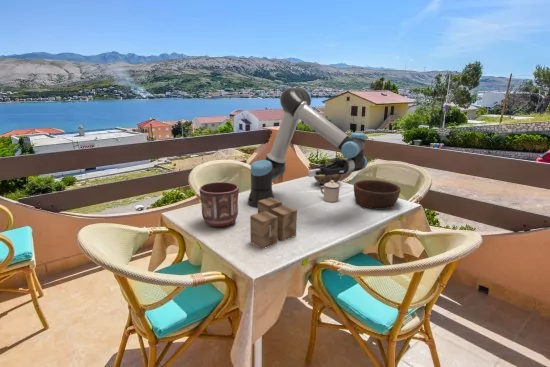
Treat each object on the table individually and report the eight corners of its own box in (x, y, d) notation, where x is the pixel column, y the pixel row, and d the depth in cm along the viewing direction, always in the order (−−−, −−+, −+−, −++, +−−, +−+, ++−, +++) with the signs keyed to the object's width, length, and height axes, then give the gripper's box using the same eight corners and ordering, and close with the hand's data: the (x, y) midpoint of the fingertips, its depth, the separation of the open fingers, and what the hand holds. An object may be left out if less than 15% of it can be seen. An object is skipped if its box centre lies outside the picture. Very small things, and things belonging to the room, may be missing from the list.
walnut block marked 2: (268, 230, 144) (268, 205, 141) (257, 224, 150) (257, 200, 147) (281, 225, 149) (282, 201, 146) (270, 220, 155) (270, 197, 152)
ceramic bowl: (318, 195, 200) (323, 174, 193) (302, 181, 212) (306, 161, 205) (346, 189, 213) (352, 169, 206) (329, 176, 225) (334, 157, 218)
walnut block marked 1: (262, 249, 127) (262, 222, 124) (250, 241, 133) (250, 215, 130) (277, 243, 132) (278, 216, 129) (265, 236, 138) (265, 211, 135)
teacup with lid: (341, 199, 184) (343, 180, 181) (333, 203, 178) (334, 184, 174) (324, 195, 192) (325, 176, 189) (315, 198, 185) (316, 179, 182)
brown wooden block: (282, 240, 134) (283, 214, 131) (270, 234, 140) (270, 209, 137) (296, 235, 140) (296, 210, 136) (283, 229, 145) (284, 205, 142)
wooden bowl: (405, 202, 181) (407, 185, 178) (387, 215, 163) (389, 196, 160) (364, 193, 197) (366, 177, 194) (344, 203, 179) (345, 186, 176)
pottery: (217, 234, 139) (215, 196, 134) (194, 223, 151) (192, 187, 146) (246, 222, 152) (246, 187, 147) (223, 213, 163) (222, 179, 158)
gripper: (353, 176, 153) (319, 185, 138) (332, 170, 162) (299, 178, 148) (354, 161, 150) (320, 168, 136) (333, 156, 160) (299, 162, 146)
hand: (309, 173), depth 142 cm, fingers closed
